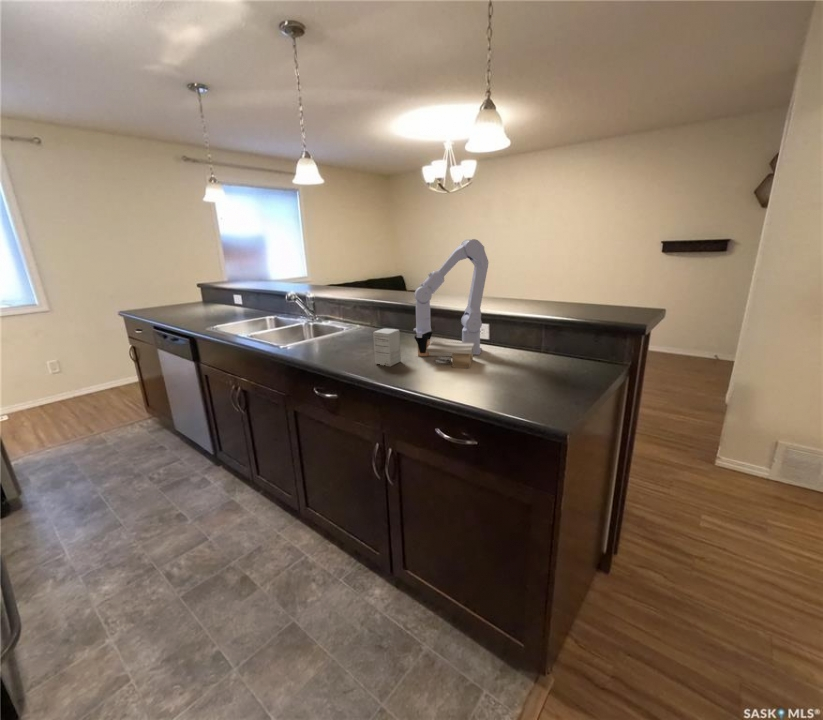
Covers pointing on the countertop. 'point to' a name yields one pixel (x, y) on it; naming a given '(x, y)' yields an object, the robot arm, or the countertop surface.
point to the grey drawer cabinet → (387, 346)
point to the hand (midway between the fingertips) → (424, 351)
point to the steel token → (443, 360)
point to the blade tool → (432, 352)
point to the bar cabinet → (455, 352)
